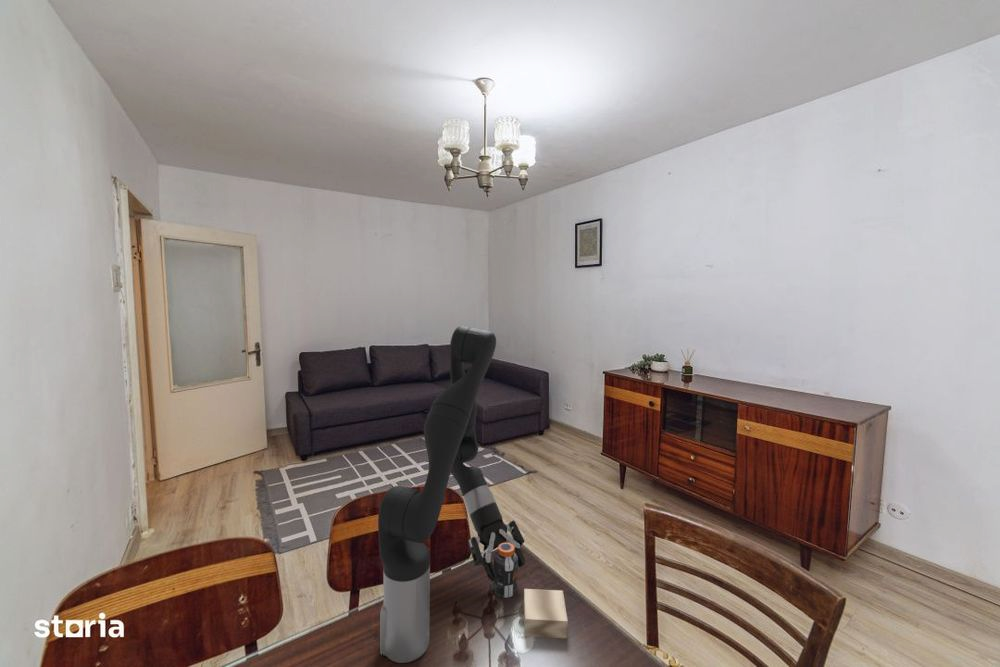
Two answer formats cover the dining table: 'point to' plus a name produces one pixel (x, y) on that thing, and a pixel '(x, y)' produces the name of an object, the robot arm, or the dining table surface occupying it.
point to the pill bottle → (505, 571)
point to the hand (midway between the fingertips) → (508, 572)
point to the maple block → (545, 613)
